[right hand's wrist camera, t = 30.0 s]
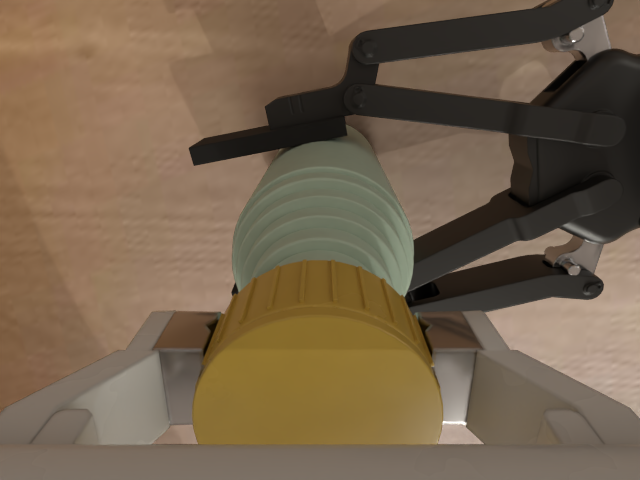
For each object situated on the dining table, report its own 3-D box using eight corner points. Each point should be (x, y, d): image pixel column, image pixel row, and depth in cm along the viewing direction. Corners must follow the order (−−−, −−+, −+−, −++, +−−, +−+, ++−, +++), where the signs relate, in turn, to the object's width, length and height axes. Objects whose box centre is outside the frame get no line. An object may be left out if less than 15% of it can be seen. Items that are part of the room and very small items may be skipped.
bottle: (303, 100, 25) (240, 184, 8) (397, 151, 26) (535, 332, 8) (258, 193, 27) (124, 431, 10) (346, 238, 28) (372, 529, 10)
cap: (230, 432, 11) (208, 519, 9) (200, 261, 9) (165, 319, 7) (418, 424, 11) (441, 510, 9) (423, 250, 9) (453, 305, 7)
